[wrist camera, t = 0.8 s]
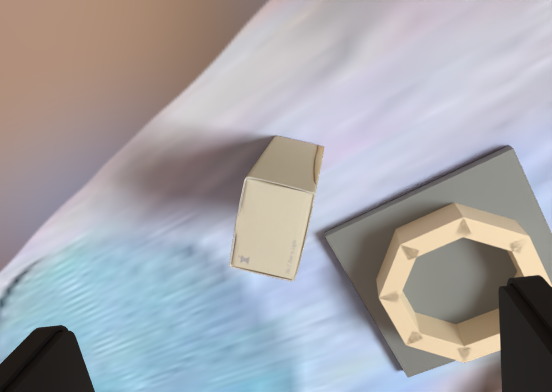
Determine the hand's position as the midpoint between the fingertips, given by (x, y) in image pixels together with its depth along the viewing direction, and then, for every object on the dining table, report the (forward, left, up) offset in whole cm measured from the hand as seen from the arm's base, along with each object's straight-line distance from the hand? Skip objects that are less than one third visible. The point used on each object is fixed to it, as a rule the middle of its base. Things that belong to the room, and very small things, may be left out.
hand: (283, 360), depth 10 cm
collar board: (-3, +17, -29) cm, 34 cm away
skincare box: (+5, +3, -30) cm, 30 cm away
